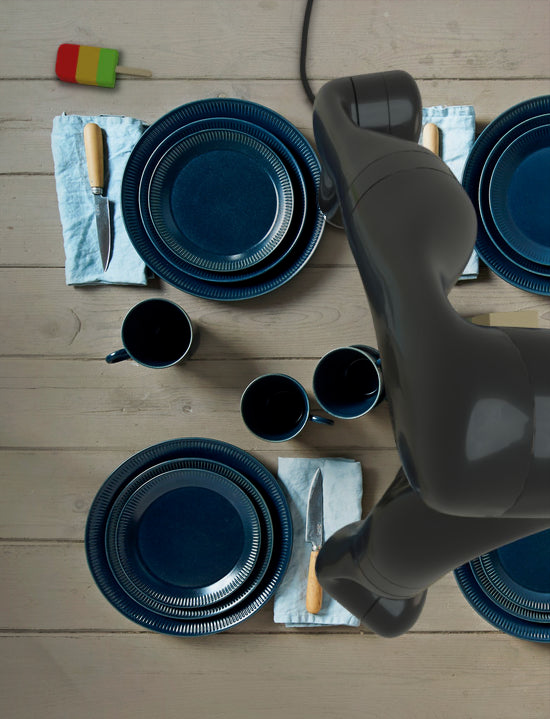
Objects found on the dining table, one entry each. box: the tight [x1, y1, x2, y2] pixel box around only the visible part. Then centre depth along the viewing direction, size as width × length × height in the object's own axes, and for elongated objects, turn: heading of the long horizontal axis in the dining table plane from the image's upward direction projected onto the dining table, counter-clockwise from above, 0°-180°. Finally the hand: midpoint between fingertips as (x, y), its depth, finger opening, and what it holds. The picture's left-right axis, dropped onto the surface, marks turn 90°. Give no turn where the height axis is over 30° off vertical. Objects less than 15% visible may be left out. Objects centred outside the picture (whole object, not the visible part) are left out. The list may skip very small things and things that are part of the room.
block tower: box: [465, 309, 539, 328], centre depth 76 cm, size 6×6×20 cm
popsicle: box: [54, 42, 153, 89], centre depth 88 cm, size 6×15×2 cm, turn 82°
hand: (481, 405), depth 76 cm, fingers open, 8 cm apart
